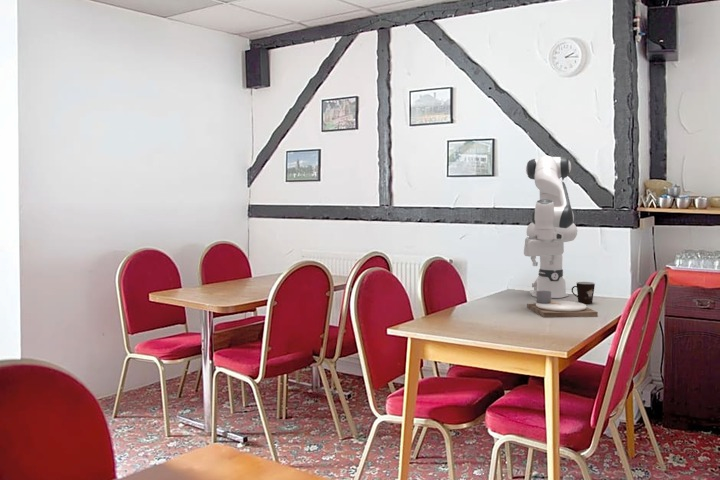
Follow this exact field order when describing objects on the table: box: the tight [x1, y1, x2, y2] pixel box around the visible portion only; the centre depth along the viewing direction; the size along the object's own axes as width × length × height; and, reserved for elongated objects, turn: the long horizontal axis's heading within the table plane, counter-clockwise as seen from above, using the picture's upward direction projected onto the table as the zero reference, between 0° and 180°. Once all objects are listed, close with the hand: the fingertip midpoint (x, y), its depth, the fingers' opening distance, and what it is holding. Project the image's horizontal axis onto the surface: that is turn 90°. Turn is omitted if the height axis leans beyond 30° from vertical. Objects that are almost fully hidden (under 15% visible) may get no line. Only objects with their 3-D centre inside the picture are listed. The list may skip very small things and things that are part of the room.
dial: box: [535, 291, 588, 311], centre depth 320 cm, size 23×22×6 cm
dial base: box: [526, 302, 599, 318], centre depth 320 cm, size 24×24×2 cm
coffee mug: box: [571, 281, 596, 305], centre depth 344 cm, size 12×9×10 cm
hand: (543, 265), depth 323 cm, fingers open, 8 cm apart
